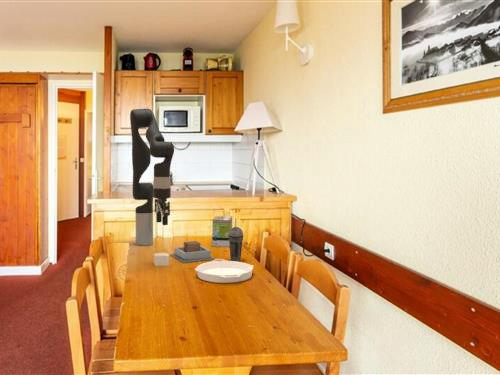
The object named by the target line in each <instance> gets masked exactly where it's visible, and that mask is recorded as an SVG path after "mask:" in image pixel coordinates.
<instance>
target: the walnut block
mask: <svg viewBox="0 0 500 375" xmlns="http://www.w3.org/2000/svg"><path fill="white" fill-rule="evenodd" d="M200 246H201V242H199V241H196V240H188V241H183V247H184V252H185V253H187V252H197V251H200Z"/></svg>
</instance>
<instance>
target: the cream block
mask: <svg viewBox="0 0 500 375" xmlns="http://www.w3.org/2000/svg"><path fill="white" fill-rule="evenodd" d="M153 264H154V266H155V267H164V266H166V267H167V266H170V254H169V253H168V252H159V253H157V252H155V253H153Z"/></svg>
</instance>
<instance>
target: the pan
mask: <svg viewBox="0 0 500 375" xmlns="http://www.w3.org/2000/svg"><path fill="white" fill-rule="evenodd" d="M254 267H255V266H254V265H252V264H248V263H245V262H242V261H231V260H226V259H222V258H215V260H211V261H209V262H207V261H206V262H204V263H201V264H198V265H197V267H195V268H194V271H195V272H196V273H197V277H198V279H199V280H201V281H204V282H206V283H207V282H208V283H215V284H236V283H242V282H245V281H247V280H249V279H251V278H252V274H253V269H254Z"/></svg>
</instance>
